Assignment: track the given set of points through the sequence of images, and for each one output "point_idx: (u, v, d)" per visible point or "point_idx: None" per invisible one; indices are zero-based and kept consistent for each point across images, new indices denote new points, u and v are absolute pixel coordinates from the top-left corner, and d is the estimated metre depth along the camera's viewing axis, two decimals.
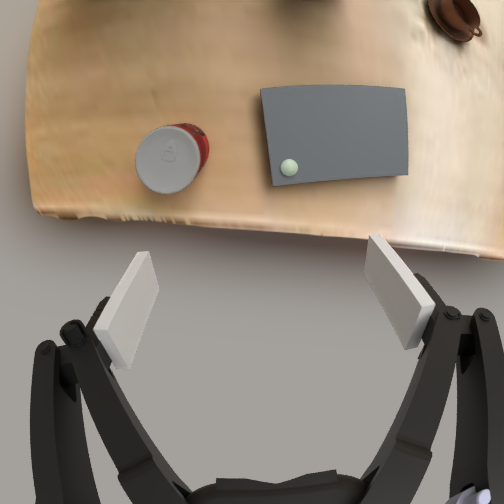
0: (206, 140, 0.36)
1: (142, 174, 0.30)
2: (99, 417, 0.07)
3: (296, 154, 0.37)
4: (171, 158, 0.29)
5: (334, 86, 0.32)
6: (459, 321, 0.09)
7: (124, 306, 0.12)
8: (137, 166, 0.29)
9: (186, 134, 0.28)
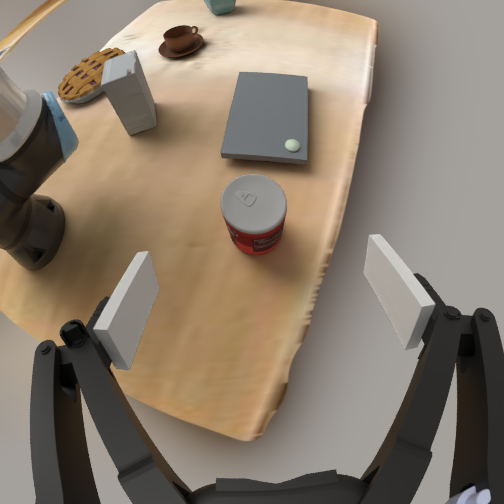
0: None
1: (258, 227, 0.32)
2: (99, 417, 0.07)
3: (282, 139, 0.44)
4: (253, 197, 0.33)
5: (231, 109, 0.46)
6: (459, 321, 0.09)
7: (124, 306, 0.12)
8: (248, 229, 0.32)
9: (236, 178, 0.34)
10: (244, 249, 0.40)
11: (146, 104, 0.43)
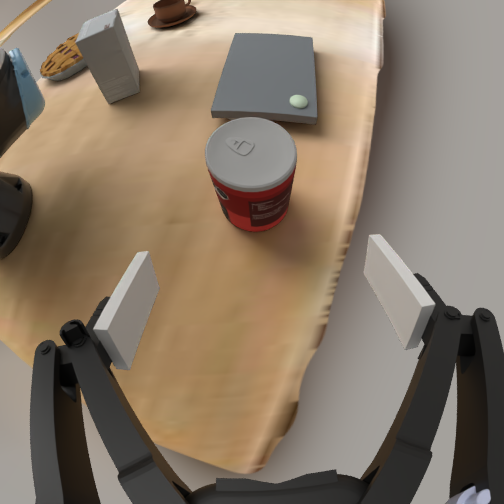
0: None
1: (257, 182, 0.22)
2: (99, 417, 0.07)
3: (285, 95, 0.34)
4: (250, 145, 0.23)
5: (225, 67, 0.36)
6: (459, 321, 0.09)
7: (124, 306, 0.12)
8: (243, 184, 0.22)
9: (226, 123, 0.23)
10: (239, 223, 0.30)
11: (126, 64, 0.33)
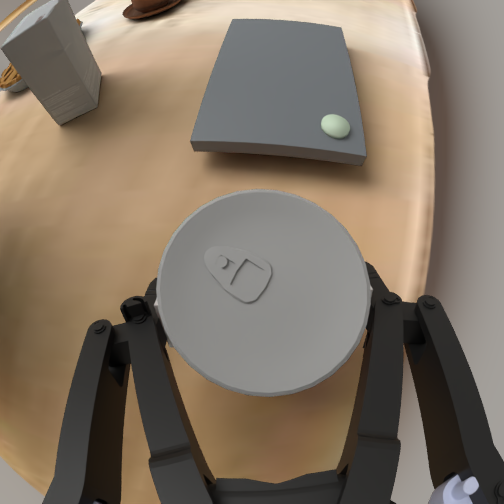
0: None
1: (281, 381, 0.09)
2: (144, 397, 0.07)
3: (313, 114, 0.21)
4: (263, 272, 0.10)
5: (216, 66, 0.23)
6: (399, 305, 0.10)
7: None
8: (248, 388, 0.09)
9: (206, 205, 0.10)
10: None
11: (73, 70, 0.20)
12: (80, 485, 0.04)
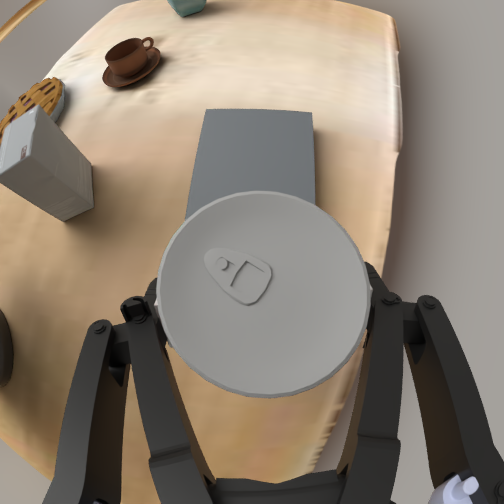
0: None
1: (280, 382, 0.09)
2: (145, 397, 0.07)
3: None
4: (263, 274, 0.10)
5: (192, 185, 0.31)
6: (399, 305, 0.10)
7: None
8: (248, 389, 0.09)
9: (206, 207, 0.10)
10: None
11: (67, 187, 0.28)
12: (80, 485, 0.04)
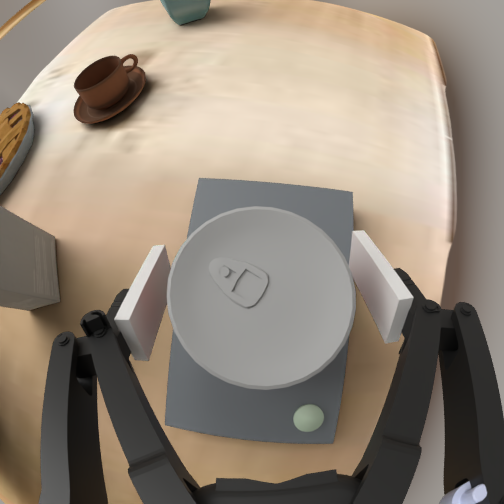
0: None
1: (276, 376, 0.10)
2: (114, 409, 0.07)
3: (288, 402, 0.20)
4: (260, 281, 0.11)
5: None
6: (438, 314, 0.09)
7: (144, 297, 0.12)
8: (247, 382, 0.10)
9: (210, 221, 0.12)
10: None
11: (19, 294, 0.19)
12: (67, 494, 0.04)
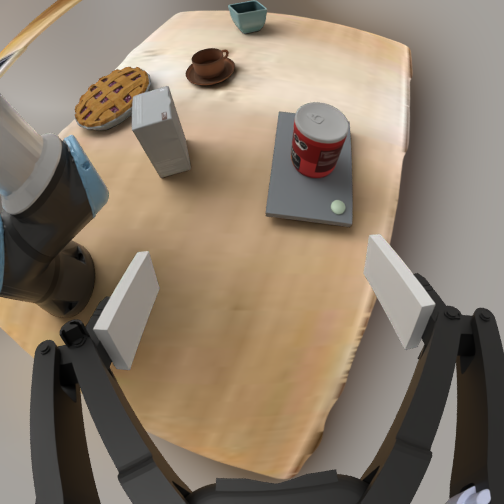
0: None
1: (328, 137, 0.35)
2: (99, 417, 0.07)
3: (327, 199, 0.44)
4: (321, 118, 0.36)
5: (274, 159, 0.47)
6: (459, 321, 0.09)
7: (124, 306, 0.12)
8: (321, 138, 0.35)
9: (306, 104, 0.37)
10: (306, 169, 0.43)
11: (181, 149, 0.44)
12: (60, 500, 0.04)
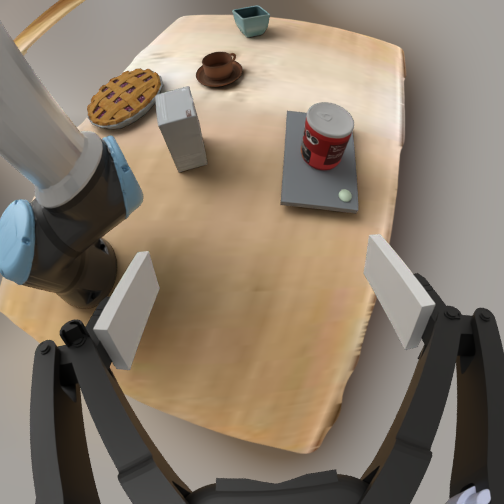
0: None
1: (337, 133, 0.39)
2: (99, 417, 0.07)
3: (335, 188, 0.49)
4: (330, 116, 0.40)
5: (285, 153, 0.51)
6: (459, 321, 0.09)
7: (124, 306, 0.12)
8: (331, 133, 0.39)
9: (315, 104, 0.41)
10: (316, 162, 0.47)
11: (201, 145, 0.48)
12: (60, 500, 0.04)
